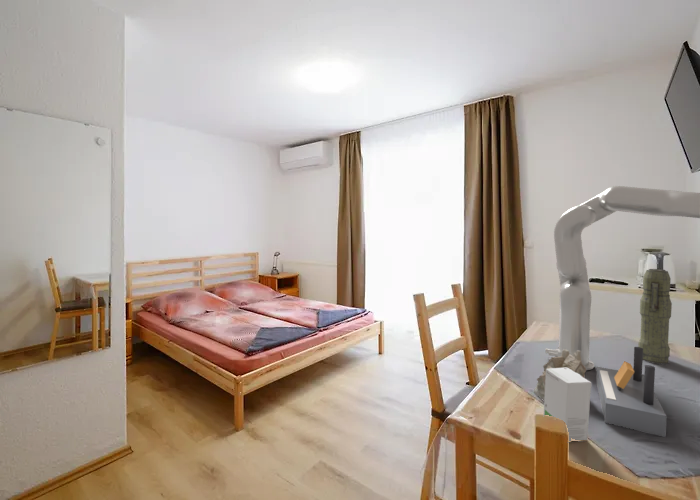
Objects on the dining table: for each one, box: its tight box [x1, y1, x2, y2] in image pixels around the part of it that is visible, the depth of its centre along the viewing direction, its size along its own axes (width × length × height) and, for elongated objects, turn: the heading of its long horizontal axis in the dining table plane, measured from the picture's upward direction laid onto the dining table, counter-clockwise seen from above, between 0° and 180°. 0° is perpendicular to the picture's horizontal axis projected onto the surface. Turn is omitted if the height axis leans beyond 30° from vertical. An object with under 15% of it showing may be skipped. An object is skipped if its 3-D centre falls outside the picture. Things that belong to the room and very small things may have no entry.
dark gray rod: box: [643, 364, 656, 405], centre depth 87 cm, size 2×2×10 cm
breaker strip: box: [595, 366, 668, 438], centre depth 96 cm, size 12×26×6 cm, turn 147°
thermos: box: [637, 268, 673, 365], centre depth 126 cm, size 9×12×35 cm
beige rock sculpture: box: [533, 349, 587, 401], centre depth 105 cm, size 16×16×15 cm
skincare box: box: [543, 367, 592, 441], centre depth 84 cm, size 8×7×16 cm
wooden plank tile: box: [614, 361, 634, 391], centre depth 96 cm, size 2×6×7 cm, turn 149°
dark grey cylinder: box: [632, 346, 644, 382], centre depth 100 cm, size 2×2×10 cm
